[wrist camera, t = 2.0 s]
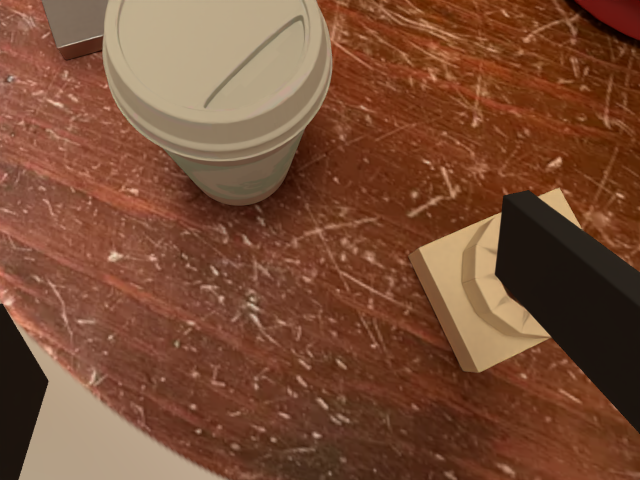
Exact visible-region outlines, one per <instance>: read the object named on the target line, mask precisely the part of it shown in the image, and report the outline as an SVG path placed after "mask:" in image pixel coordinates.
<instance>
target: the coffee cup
mask: <svg viewBox="0 0 640 480" xmlns="http://www.w3.org/2000/svg"><path fill="white" fill-rule="evenodd" d="M102 50H103V63H104V68H105V73H106V76H107V80H108V84H109V88H110V90H111V93H112V96H113V98H114V100H115V102H116V104H117V106H118V107H119V109H120V111H121V112H122V113H123V115H124V116H125V117H126V119H127V120H128V121H129V122H130V123H131V124H132V126H133V127H134V128H135V129H137V130H138V131H139V132H140V133H141V134H142V135H144V136H145V137H146V138H148V139H149V140H150V141H152V142H153V143H155V144H157V145H159V146H160V147H162V148H163V149H164V150H165V151H166V152H167V153H168V154H169V156H170V157H171V158H172V159H173V160H174V161H175V162H176V163H177V164H178V165H179V166H180V168H181V169H182V170H183V171H184V172H185V173H186V174H187V175H188V176H189V177H190V178H191V180H192V181H193V182H194V183H195V184H196V185H197V186H198V187H199V188H200V189H201V190H202V191H203V192H204V193H205V194H206V195H208V196H209V197H211V198H212V199H214V200H216V201H218V202H221V203H224V204H228V205H236V206H242V205H250V204H254V203H257V202H260V201H262V200H264V199H266V198H267V197H269V196H270V195H272V194H273V193H274V192H275V191H276V190H277V189H278V188H279V187H280V185H281V184H282V182H283V181H284V179H285V177H286V175H287V172H288V170H289V167H290V165H291V163H292V160H293V157H294V155H295V152H296V150H297V147H298V145H299V142H300V140H301V137H302V135H303V132H304V129H305V127H306V126H307V125H308V124H309V122H310V121H311V120H312V119H313V117H314V116H315V115H316V113H317V112H318V110H319V108H320V107H321V105H322V103H323V101H324V99H325V96H326V94H327V91H328V88H329V84H330V80H331V74H332V51H331V43H330V36H329V32H328V28H327V25H326V22H325V19H324V17H323V15H322V12H321V10H320V8H319V7H318V4H317V1H316V0H109V1H108V4H107V8H106V13H105V20H104V36H103V48H102Z"/></svg>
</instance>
